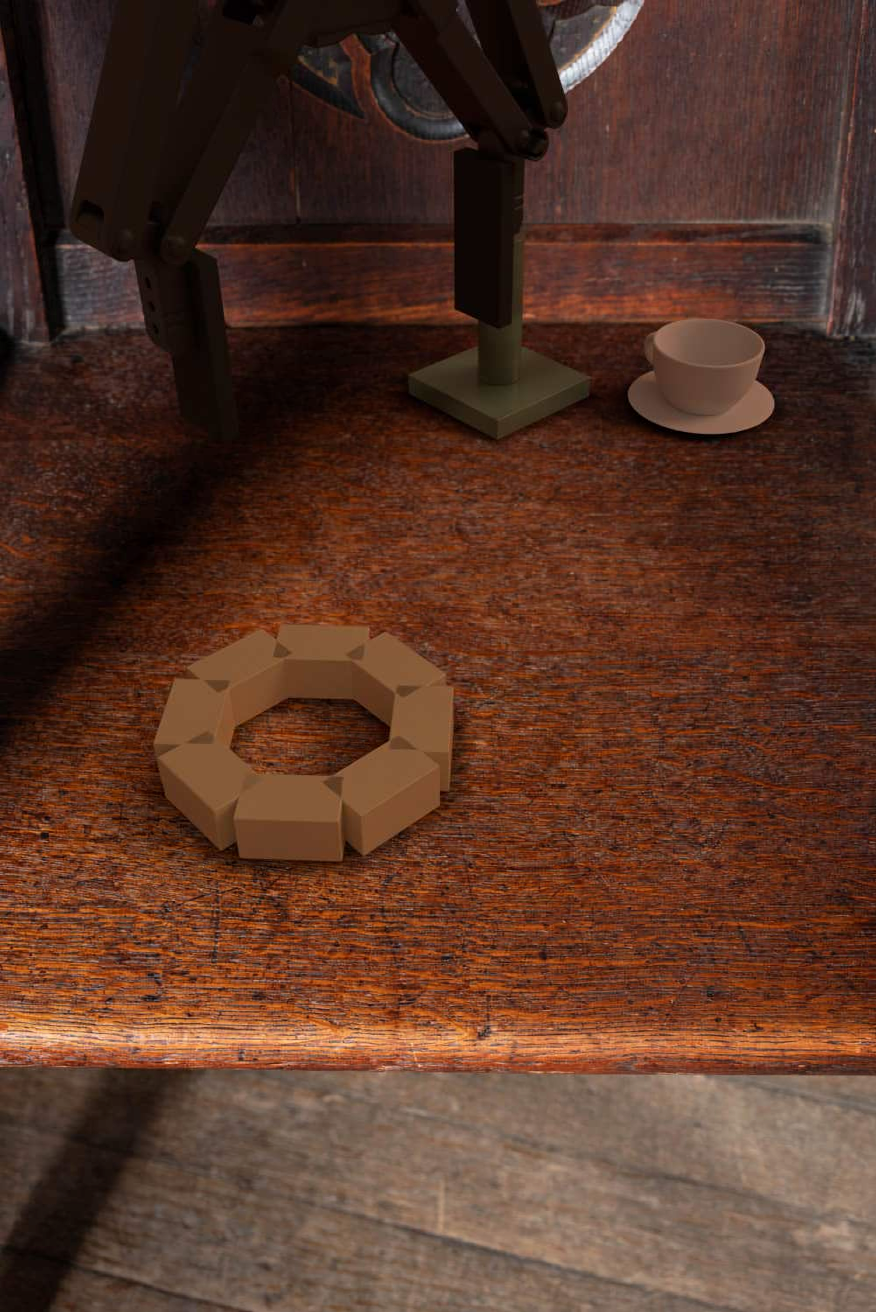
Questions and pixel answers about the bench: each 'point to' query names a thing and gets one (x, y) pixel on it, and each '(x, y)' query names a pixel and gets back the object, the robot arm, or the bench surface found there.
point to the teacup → (703, 378)
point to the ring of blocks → (306, 806)
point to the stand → (500, 375)
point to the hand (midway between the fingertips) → (355, 368)
